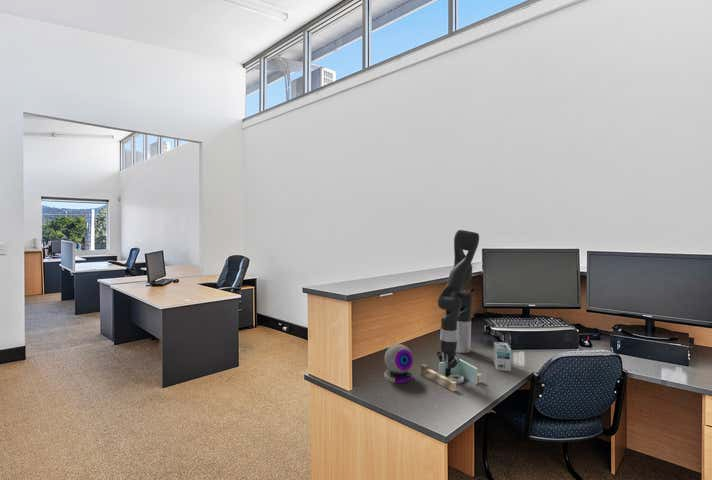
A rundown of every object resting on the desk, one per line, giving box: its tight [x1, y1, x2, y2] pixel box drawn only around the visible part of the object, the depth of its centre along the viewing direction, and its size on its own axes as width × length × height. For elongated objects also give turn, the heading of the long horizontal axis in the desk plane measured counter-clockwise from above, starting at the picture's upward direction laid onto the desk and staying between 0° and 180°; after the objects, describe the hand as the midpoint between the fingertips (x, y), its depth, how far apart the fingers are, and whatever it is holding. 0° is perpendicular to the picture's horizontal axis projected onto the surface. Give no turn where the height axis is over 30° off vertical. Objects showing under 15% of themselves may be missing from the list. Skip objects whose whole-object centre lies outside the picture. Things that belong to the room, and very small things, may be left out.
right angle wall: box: [438, 358, 479, 385], centre depth 167 cm, size 12×12×8 cm
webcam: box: [383, 343, 414, 384], centre depth 170 cm, size 13×13×15 cm
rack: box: [420, 363, 483, 392], centre depth 170 cm, size 20×18×4 cm
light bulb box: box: [493, 341, 512, 372], centre depth 184 cm, size 11×7×11 cm, turn 168°
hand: (447, 375), depth 171 cm, fingers closed
